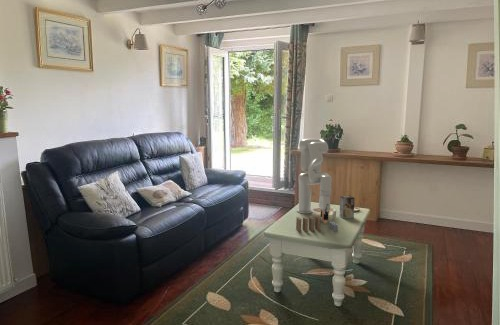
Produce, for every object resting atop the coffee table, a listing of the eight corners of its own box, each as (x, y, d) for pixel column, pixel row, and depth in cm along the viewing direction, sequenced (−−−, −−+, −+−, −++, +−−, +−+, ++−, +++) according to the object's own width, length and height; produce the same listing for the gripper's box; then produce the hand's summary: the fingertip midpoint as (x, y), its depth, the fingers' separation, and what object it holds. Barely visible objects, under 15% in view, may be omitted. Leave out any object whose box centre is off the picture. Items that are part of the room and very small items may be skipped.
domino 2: (302, 229, 249) (302, 216, 248) (305, 228, 249) (305, 216, 248) (304, 231, 244) (305, 219, 242) (307, 231, 244) (308, 219, 242)
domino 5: (321, 220, 250) (321, 208, 248) (324, 220, 250) (324, 207, 249) (324, 223, 244) (324, 210, 243) (327, 222, 245) (327, 210, 243)
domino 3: (308, 228, 250) (309, 216, 248) (311, 228, 250) (311, 216, 248) (311, 231, 244) (311, 218, 243) (313, 231, 245) (314, 218, 243)
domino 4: (314, 228, 250) (315, 216, 249) (317, 228, 251) (318, 215, 249) (317, 231, 245) (317, 218, 243) (320, 231, 245) (320, 218, 244)
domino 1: (296, 229, 248) (296, 216, 247) (298, 229, 249) (299, 216, 247) (298, 232, 243) (298, 219, 242) (301, 231, 243) (301, 219, 242)
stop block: (329, 227, 253) (329, 221, 252) (333, 226, 254) (333, 221, 253) (333, 231, 245) (333, 225, 245) (337, 230, 246) (337, 225, 245)
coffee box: (350, 215, 280) (351, 195, 277) (353, 218, 274) (355, 197, 271) (339, 216, 278) (340, 196, 275) (342, 218, 272) (343, 198, 269)
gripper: (315, 190, 252) (315, 214, 255) (324, 196, 235) (323, 222, 238) (326, 189, 253) (325, 214, 256) (335, 195, 236) (334, 222, 239)
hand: (324, 218), depth 247 cm, fingers closed on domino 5, 5 cm apart
